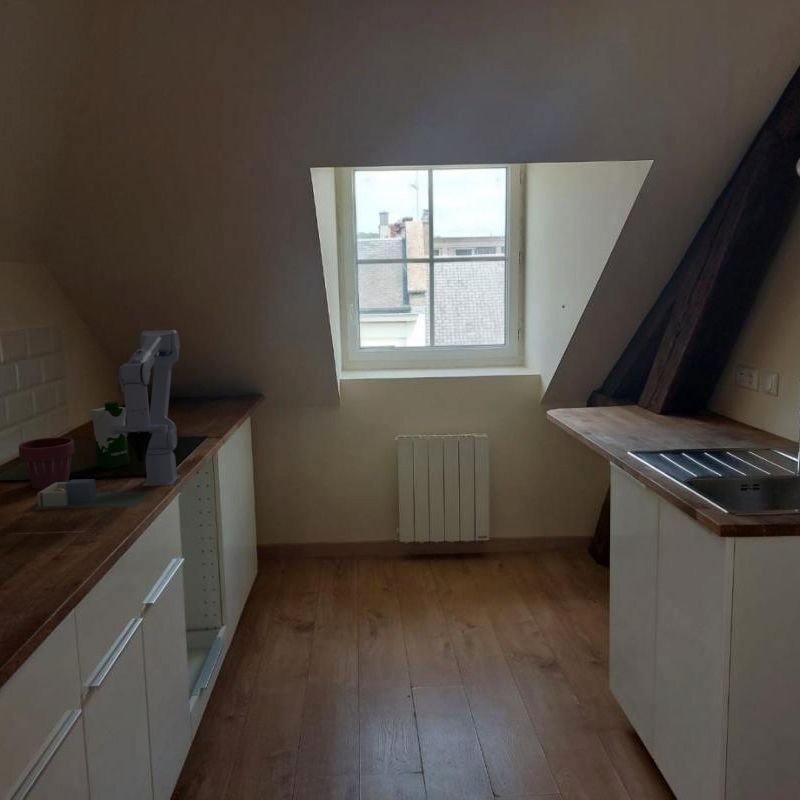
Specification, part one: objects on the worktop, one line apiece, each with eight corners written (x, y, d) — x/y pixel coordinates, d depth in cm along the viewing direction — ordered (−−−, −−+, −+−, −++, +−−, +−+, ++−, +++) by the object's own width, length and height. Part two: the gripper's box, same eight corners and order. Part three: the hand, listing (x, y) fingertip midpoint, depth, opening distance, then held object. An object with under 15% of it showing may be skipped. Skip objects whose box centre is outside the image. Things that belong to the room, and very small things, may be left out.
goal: (56, 495, 203) (55, 482, 203) (83, 494, 203) (81, 481, 203) (38, 506, 193) (37, 493, 193) (66, 505, 193) (64, 492, 193)
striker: (73, 498, 200) (71, 479, 199) (96, 497, 200) (94, 478, 199) (67, 502, 196) (65, 483, 195) (90, 501, 196) (88, 483, 195)
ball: (53, 494, 199) (58, 483, 198) (65, 500, 200) (71, 489, 199) (47, 499, 196) (52, 488, 195) (60, 505, 196) (65, 494, 196)
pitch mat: (56, 495, 204) (56, 494, 204) (153, 492, 204) (152, 491, 204) (33, 510, 191) (33, 508, 191) (136, 507, 191) (136, 505, 191)
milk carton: (109, 470, 231) (103, 405, 227) (92, 466, 236) (85, 403, 233) (134, 464, 238) (128, 401, 235) (116, 460, 243) (111, 399, 240)
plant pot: (80, 488, 211) (75, 443, 209) (24, 496, 205) (19, 450, 203) (75, 477, 224) (71, 434, 222) (22, 484, 217) (17, 440, 215)
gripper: (103, 412, 193) (108, 465, 195) (159, 411, 192) (164, 463, 194) (114, 408, 200) (119, 458, 202) (169, 406, 199) (173, 457, 201)
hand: (141, 460), depth 199 cm, fingers closed
